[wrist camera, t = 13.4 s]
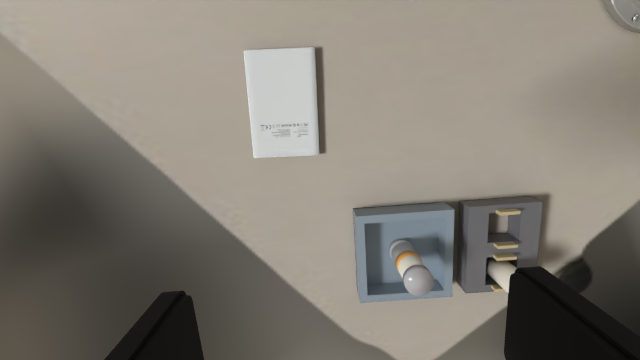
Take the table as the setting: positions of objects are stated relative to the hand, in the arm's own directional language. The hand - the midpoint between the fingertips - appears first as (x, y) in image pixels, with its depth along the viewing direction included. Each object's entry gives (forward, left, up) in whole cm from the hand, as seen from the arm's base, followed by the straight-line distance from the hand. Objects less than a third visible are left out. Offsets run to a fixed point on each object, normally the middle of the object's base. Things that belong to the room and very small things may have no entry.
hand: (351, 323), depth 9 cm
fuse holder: (-22, +13, -30) cm, 39 cm away
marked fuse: (-9, +13, -30) cm, 34 cm away
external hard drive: (+5, -7, -31) cm, 32 cm away
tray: (-9, +13, -30) cm, 34 cm away
